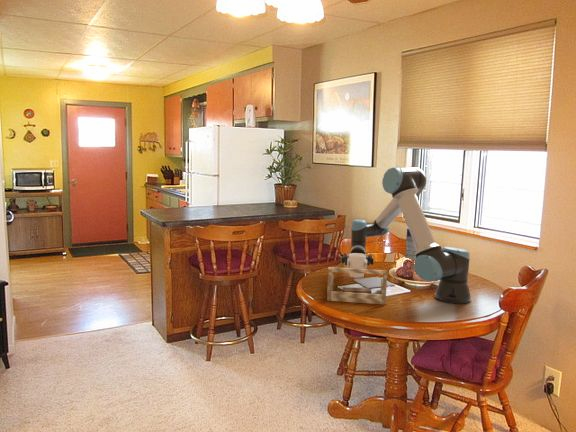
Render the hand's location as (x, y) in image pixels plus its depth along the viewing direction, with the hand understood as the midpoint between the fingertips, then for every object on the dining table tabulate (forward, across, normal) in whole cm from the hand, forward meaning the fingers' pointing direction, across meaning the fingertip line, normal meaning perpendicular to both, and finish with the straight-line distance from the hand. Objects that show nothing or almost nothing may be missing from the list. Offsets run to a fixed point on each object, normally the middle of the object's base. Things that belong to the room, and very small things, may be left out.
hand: (357, 265), depth 215 cm
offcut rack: (-1, 0, -14) cm, 14 cm away
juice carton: (-50, -31, -14) cm, 60 cm away
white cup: (-3, 0, -6) cm, 7 cm away
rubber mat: (-22, -8, -14) cm, 27 cm away
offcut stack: (+5, 0, -15) cm, 15 cm away
